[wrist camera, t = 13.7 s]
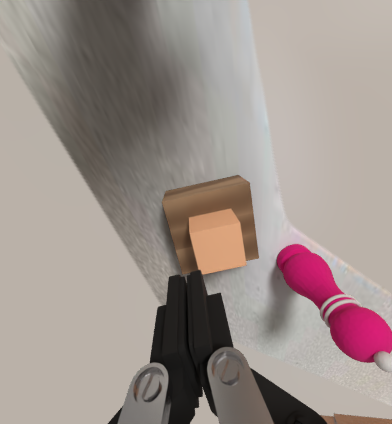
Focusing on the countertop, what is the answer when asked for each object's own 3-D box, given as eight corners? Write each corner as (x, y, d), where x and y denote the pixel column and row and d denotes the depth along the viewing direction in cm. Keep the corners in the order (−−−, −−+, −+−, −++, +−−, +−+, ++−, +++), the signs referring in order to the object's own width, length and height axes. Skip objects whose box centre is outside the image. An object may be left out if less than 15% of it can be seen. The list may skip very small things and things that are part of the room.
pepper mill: (291, 280, 41) (382, 402, 22) (266, 261, 39) (342, 376, 20) (319, 255, 39) (443, 364, 20) (294, 234, 37) (406, 332, 18)
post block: (165, 191, 33) (161, 202, 28) (238, 175, 33) (249, 182, 27) (182, 253, 37) (182, 274, 32) (247, 239, 37) (258, 258, 31)
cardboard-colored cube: (188, 217, 29) (189, 233, 24) (230, 208, 28) (240, 222, 24) (197, 254, 31) (199, 275, 26) (237, 245, 30) (246, 265, 26)
